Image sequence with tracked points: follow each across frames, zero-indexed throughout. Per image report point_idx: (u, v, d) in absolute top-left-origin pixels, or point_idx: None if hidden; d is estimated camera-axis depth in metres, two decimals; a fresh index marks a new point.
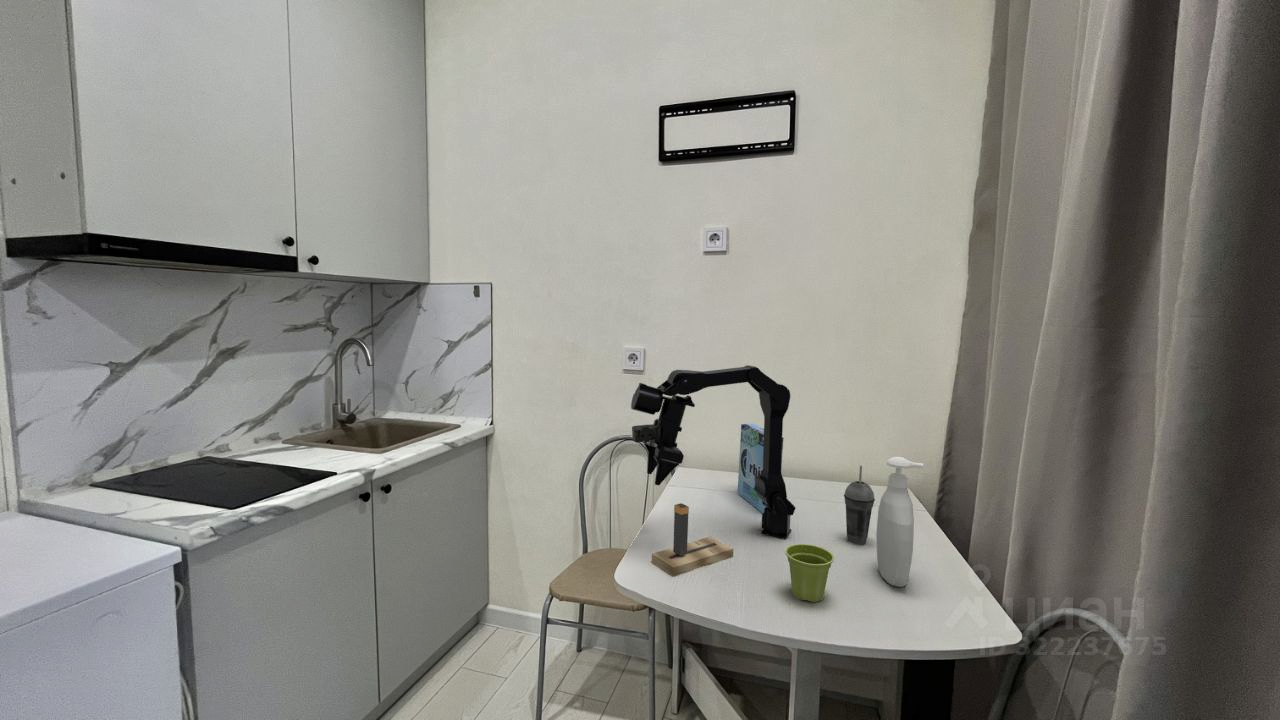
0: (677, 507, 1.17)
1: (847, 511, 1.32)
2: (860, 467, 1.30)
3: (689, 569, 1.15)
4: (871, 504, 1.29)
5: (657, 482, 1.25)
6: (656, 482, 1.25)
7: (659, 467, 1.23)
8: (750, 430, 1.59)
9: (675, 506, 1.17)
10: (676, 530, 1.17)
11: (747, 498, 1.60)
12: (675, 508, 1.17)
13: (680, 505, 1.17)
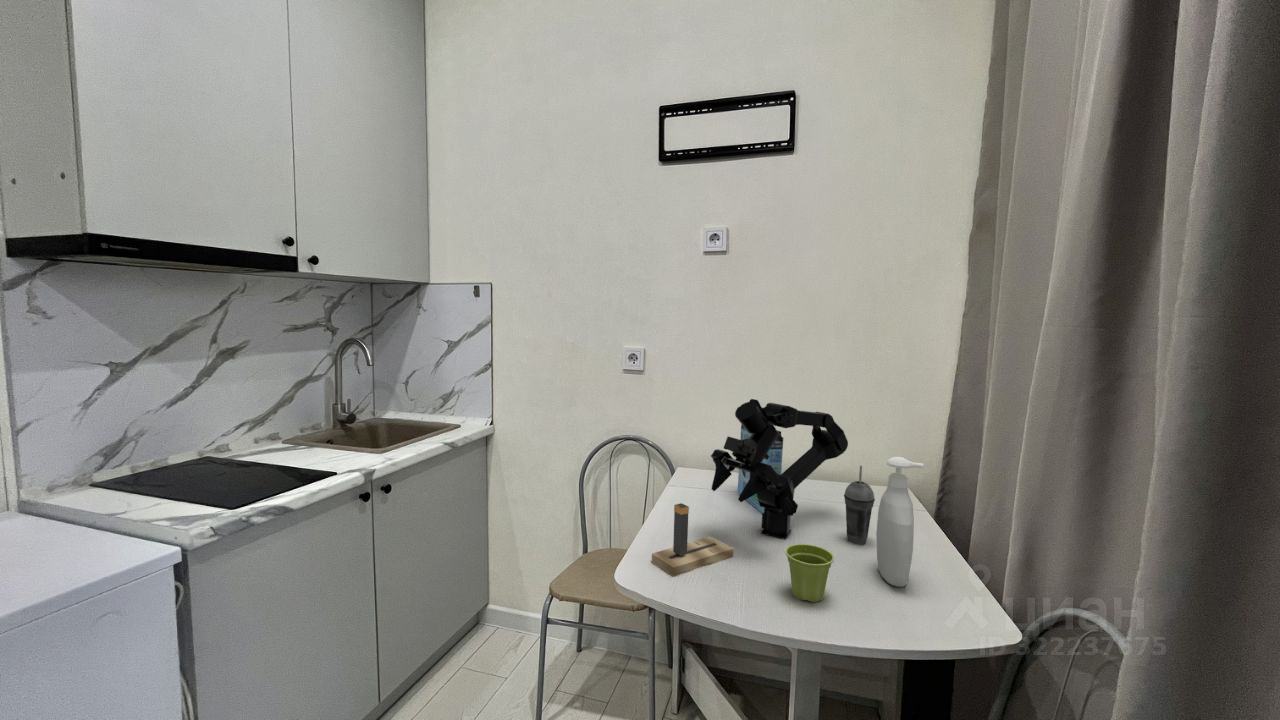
0: (677, 507, 1.17)
1: (847, 511, 1.32)
2: (860, 467, 1.30)
3: (689, 569, 1.15)
4: (871, 504, 1.29)
5: (742, 498, 1.21)
6: (741, 498, 1.21)
7: (752, 484, 1.21)
8: None
9: (675, 506, 1.17)
10: (676, 530, 1.17)
11: None
12: (675, 508, 1.17)
13: (680, 505, 1.17)
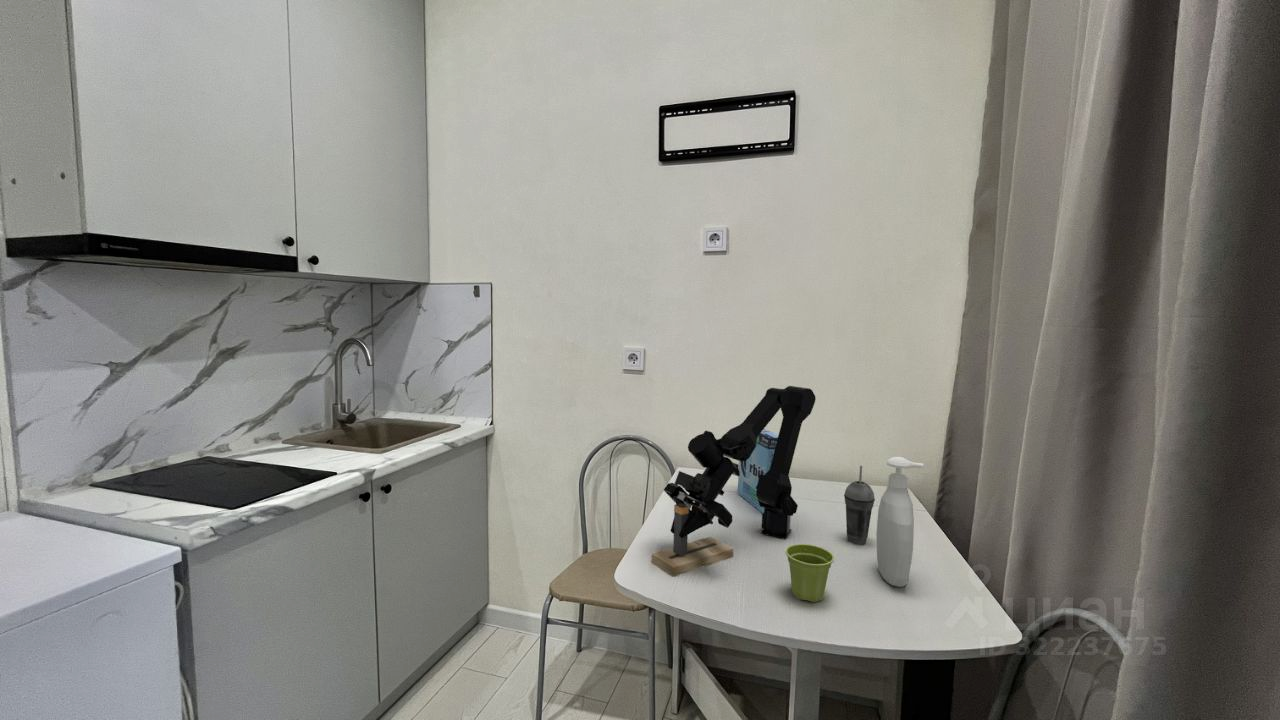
0: (677, 507, 1.17)
1: (847, 511, 1.32)
2: (860, 467, 1.30)
3: (689, 569, 1.15)
4: (871, 504, 1.29)
5: (682, 534, 1.16)
6: (681, 534, 1.16)
7: (693, 519, 1.16)
8: None
9: (675, 506, 1.17)
10: (676, 530, 1.17)
11: (747, 498, 1.60)
12: (675, 508, 1.17)
13: (680, 505, 1.17)
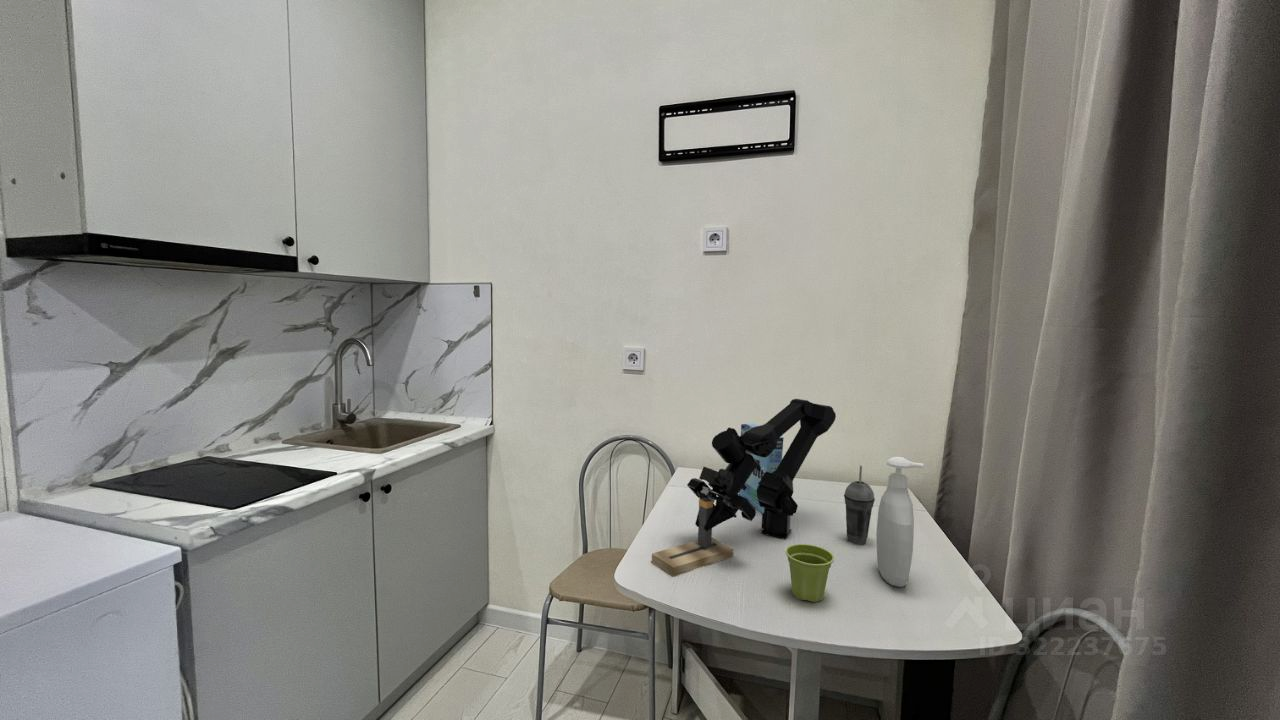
0: (701, 501, 1.21)
1: (847, 511, 1.32)
2: (860, 467, 1.30)
3: (689, 569, 1.15)
4: (871, 504, 1.29)
5: (707, 527, 1.20)
6: (706, 527, 1.20)
7: (718, 513, 1.20)
8: None
9: (700, 500, 1.22)
10: (701, 523, 1.21)
11: (747, 498, 1.60)
12: (700, 502, 1.22)
13: (705, 499, 1.22)
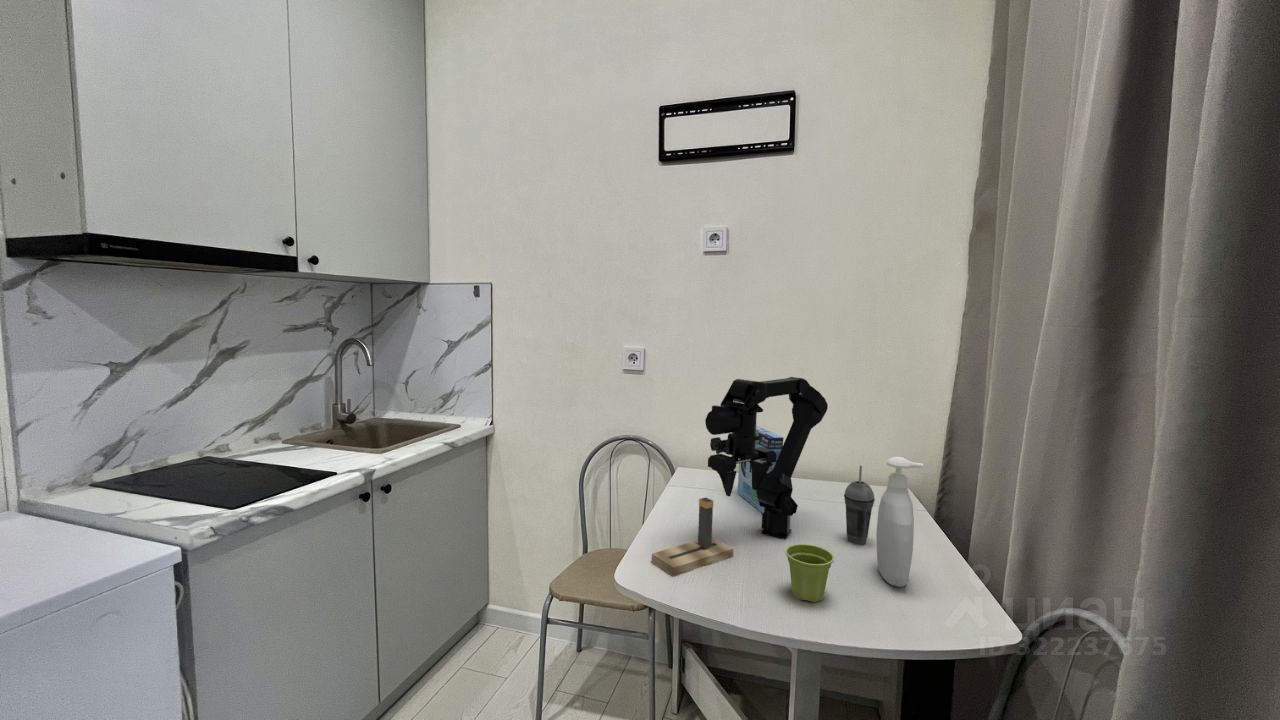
0: (702, 501, 1.21)
1: (847, 511, 1.32)
2: (860, 467, 1.30)
3: (689, 569, 1.15)
4: (871, 504, 1.29)
5: (726, 493, 1.26)
6: (726, 493, 1.26)
7: (721, 477, 1.26)
8: None
9: (700, 500, 1.22)
10: (701, 523, 1.21)
11: (747, 498, 1.60)
12: (700, 502, 1.22)
13: (705, 499, 1.22)
